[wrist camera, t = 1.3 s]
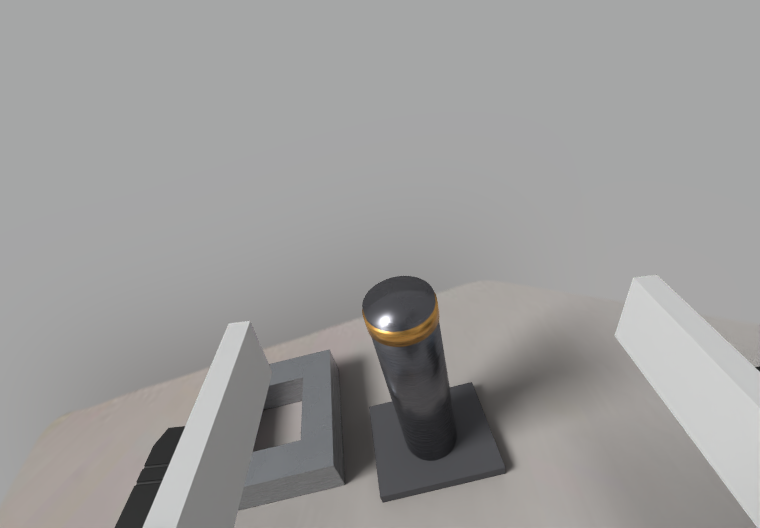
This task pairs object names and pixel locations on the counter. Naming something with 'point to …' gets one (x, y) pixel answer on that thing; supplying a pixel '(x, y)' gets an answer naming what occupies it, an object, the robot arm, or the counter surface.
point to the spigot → (413, 362)
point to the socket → (318, 434)
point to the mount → (416, 476)
